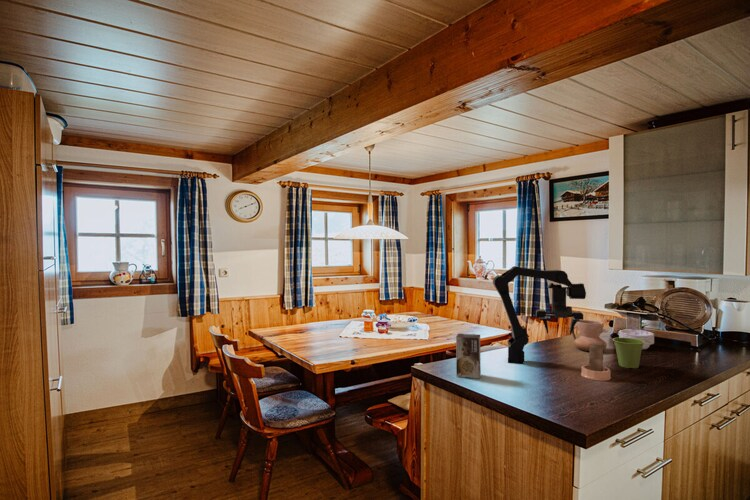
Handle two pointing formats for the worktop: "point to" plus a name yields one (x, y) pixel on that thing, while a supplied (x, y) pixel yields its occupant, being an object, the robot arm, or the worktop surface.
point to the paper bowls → (638, 336)
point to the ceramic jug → (588, 334)
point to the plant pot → (628, 351)
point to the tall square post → (596, 356)
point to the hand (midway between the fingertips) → (558, 334)
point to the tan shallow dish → (596, 373)
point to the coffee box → (468, 355)
